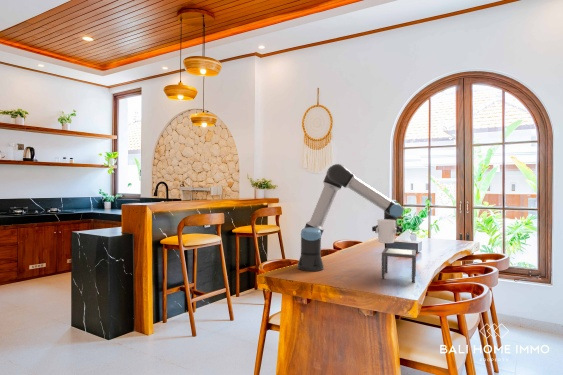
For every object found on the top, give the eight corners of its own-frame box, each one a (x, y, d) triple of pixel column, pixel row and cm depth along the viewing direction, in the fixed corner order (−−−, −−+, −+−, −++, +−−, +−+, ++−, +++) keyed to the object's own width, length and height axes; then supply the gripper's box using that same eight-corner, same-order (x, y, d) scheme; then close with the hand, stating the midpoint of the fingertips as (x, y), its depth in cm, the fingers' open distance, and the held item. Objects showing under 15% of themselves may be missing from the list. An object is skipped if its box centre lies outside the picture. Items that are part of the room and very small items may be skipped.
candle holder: (396, 243, 205) (396, 221, 205) (377, 243, 207) (377, 220, 207) (394, 241, 215) (395, 219, 214) (376, 240, 216) (376, 219, 216)
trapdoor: (385, 254, 204) (385, 252, 204) (388, 250, 217) (388, 248, 217) (411, 256, 199) (411, 254, 199) (412, 252, 212) (412, 250, 212)
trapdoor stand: (381, 279, 203) (381, 252, 203) (384, 272, 219) (385, 247, 219) (414, 282, 197) (415, 255, 197) (415, 275, 214) (416, 249, 214)
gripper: (408, 234, 224) (407, 239, 203) (370, 232, 231) (365, 237, 210) (408, 221, 224) (407, 225, 203) (370, 219, 231) (365, 223, 210)
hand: (385, 231), depth 206 cm, fingers closed on candle holder, 9 cm apart
